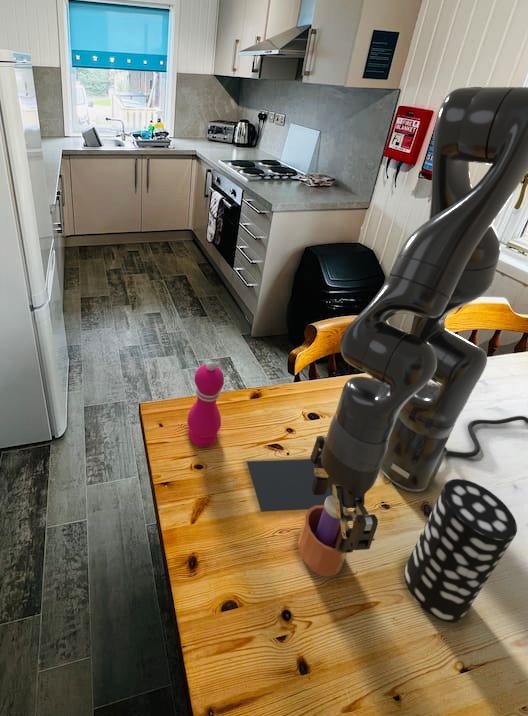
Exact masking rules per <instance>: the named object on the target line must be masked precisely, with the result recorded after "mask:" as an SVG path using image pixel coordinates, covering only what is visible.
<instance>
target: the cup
mask: <svg viewBox="0 0 528 716" xmlns="http://www.w3.org/2000/svg"><path fill="white" fill-rule="evenodd" d="M323 509H324V505H316V506H313V507H312V508H310V509H307V511H306V513H305V515H304V520H303V522H302V526H301V529H300V533H299V536H298V540H297V541H298V543H297V546H298V547H297V549H298V551H299V555H300V557H301V559H302V561H303V562H304V564H305V565H306V566H307V567H308V568H309V569H310V570H311V571H312V572H314V573H315V574H317V575H320V576H322V577H334V576H336V575H337V574H338V573H340V572H341V570H342V568H343V564H344V562H345V560H346V556H347V554H348V553H342V552H338V550H337V548H336V546H335V545H336V542H337V539H338V536H339V534H340V531H341V523H340V526H339V529H338V532H337V535H336V538H335V540H334V543H333V546H332V548H331V547H329V546H326V545H324V544H323V543H321V542H320V541H319V540H317V538H316V537H315V534H316V531H317V528H318V524H319V521H320V518H321V515H322V512H323ZM348 528H350V525H349V524H348Z"/></svg>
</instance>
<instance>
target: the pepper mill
mask: <svg viewBox="0 0 528 716" xmlns="http://www.w3.org/2000/svg"><path fill="white" fill-rule="evenodd" d="M194 373H195V374H194V384H195V394H196V396H197V398H196V401H195V403H193V405H192V406H191V407H190V409H189V411H188V413H187V419H186V421H187V426H188V432H187V434H188V435H187V436H188V438H189V440H190V442H191V443H193V444H194V445H195V446H196V447H199V448H200V447H201V448H208V447H211V446H213V445H214V444H215V443H216V441H217V439H218V432H219V431H220V428H221V426H222V416H221V413H220V410H219V408H218V405H217V400H218V399H219V398H220V394H221V389H223V385H224V384H225V377H224V374H223V373H224V372H223V371H222V370H221V368H219V367H218V366H216V364H215V363H214V361H208V362H206V363H205V364H202V365H200V366H199V367H198V368H197V369H196V371H195V372H194Z"/></svg>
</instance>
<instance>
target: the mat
mask: <svg viewBox="0 0 528 716" xmlns="http://www.w3.org/2000/svg"><path fill="white" fill-rule="evenodd" d="M246 465H247V468H248V471H249V474H250V478H251V481H252V485H253V489H254V492H255V496H256V500H257V502H258V506H259V510H260V512H277V511H297V510H300V511H301V510H309V509H310V508H312V507H313V506H316V505H324V503H325V500H326V498H327V497H328V496H331V495H333V493H332V491H331V489H330V488H329V486H328V488H327V491H326V494H324V495H314V494H313V492H312V487H313V481H314V478H315V474H314V468H315V464H312V463H311V460H310V458H308V459H307V458H306V459H305V458H303V459H277V460H249V461H246ZM333 496H334V495H333Z"/></svg>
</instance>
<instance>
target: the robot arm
mask: <svg viewBox="0 0 528 716" xmlns="http://www.w3.org/2000/svg"><path fill="white" fill-rule="evenodd" d="M435 120H436V121H435V123H434V124H435V125H434V129H433V130H434V131H433V137H432V138H433V139H432V157H431V159H432V163H431V164H432V165H431V168H432V169H431V195H430V207H429V215H428V220H427V221H426V222H424V223H423V224H421V225H420V226H418V228H416V229H415V230H414V231H413V232H412V233H411V234H410V236H408V238H407V239H406V240H405V242H404V243H403V245H402V247H401V248H400V251H399V252H398V254H397V257H396V259H395V261H394V263H393V265H392V267H391V269H390V272H389V273H388V276H387V277H386V280H385V281H384V283H383V284H382V287H381V288H380V289H379V291H378V292H377V293H376V295H375V296H374V297H373V298H372V300H371V301H370V302H369V303H368V305H366V306H365V308H364V309H363V310H362V311H361V312H360V313H359V314H358V315H357V316H356V317H355V318H354V319H353V320H352V321H351V322H350V323H349V324H348V325H347V327H346V329H345V330H344V331H343V333H342V335H341V339H340V344H339V347H340V353H341V356H342V358H343V360H344V361H345V362H346V363H347V364H348V365H350V366H352V367H354V368H355V369H358V370H359V371H361V372H363V373H365V374H367V375H368V376H370V377H367V376H353V377H351V378H348V380H347V381H346V382H345V383H344V386H343V388H342V391H341V393H340V397H339V400H338V404H337V406H336V410H335V413H334V414H333V416H332V418H331V421H330V424H329V427H328V431H327V433H326V436H317V437H316V440H315V443H314V445H313V448H312V451H311V455H310V458H309V459H310V460H311V463H312V464H315V468H314V474H315V478H314V481H313V487H312V492H313V494H314V495H324V494H326V491H327V488H328V486H329V488H330V489H331V491H332V493H333V495H334V498H335V505H336V515H337V517H338V518H339V519H340V523H341V531H340V534H339V536H338V539H337V542H336V545H335V546H336V548H337V550H338V552H342V553H347V554H350V553H351V554H352V553H353V552H354V551H365V550H366V551H367V550H370V549H371V546H372V543H373V541H374V537H375V534H376V530H377V528H378V525H379V520H378V517H377V516H376V515H375V514H374V513H373V514H369V512H368V510H367V509H366V507H365V504H366V503H365V502H366V500H365V499H366V497H365V496H366V493H367V492H368V491H370V490H371V489H373V487H374V485H375V483H376V481H377V478H378V476H379V473H380V472H381V474H383V475H384V477H385V478H386V479H387V480H388V481H390V483H391V484H393V486H395V487H397V488H398V489H401V490H403V491H407V492H409V493H421V492H423V491H425V490H426V489H427V488H428V486H429V485H431V484H433V483H434V481H435V478H436V476H437V474H438V471H439V470H440V467H441V465H442V463H443V461H444V459H445V457H446V456H453V457H459V458H473V457H475V456H477V455H478V454H479V453H480V452H481V451H480V450H481V446H480V443H479V441H478V439H477V437H476V435H475V433H474V427H475V426H476V425H482V424H483V425H503V424H508V423H512V422H516V421H524V422H525V423H528V417H526V416H525V415H515V416H509V417H506V418H502V419H473V420H471V421H470V422H469V423H468V425H467V431H468V434H469V437H470V439H471V440H472V442H473V446H474V449H473V450H472V451H466V452H463V451H455V450H448V449H447V447H446V445H447V444H448V440H449V439H450V436H451V434H452V432H453V430H454V428H455V425H456V423H457V421H458V419H459V417H460V415H461V413H462V411H463V410H464V409H465V406H466V405H467V403H468V400H469V399H470V397H471V394H472V393H473V391H474V390H475V388H476V386H477V384H478V383H479V381H480V379H481V377H482V375H483V374H484V371H485V369H486V367H487V363H488V355H487V352H486V351H485V350H484V349H483V348H481V347H479V346H478V345H477V344H474V343H473V342H471V341H469V340H467V339H466V338H464V337H462V336H461V335H459V334H457V333H455V332H452V331H451V330H449V329H447V327H446V325H445V321H446V317H447V316H448V315H450V314H451V313H453V312H454V311H456V310H458V309H460V308H462V307H464V306H466V305H468V304H471V303H472V302H475V300H478V299H480V298H481V297H482V296H483V295H484V294H486V293H487V292H488V291H489V289H490V288H491V287H492V284H493V282H494V278H495V275H496V271H497V268H498V263H499V258H500V254H501V243H500V239H499V237H498V234H497V231H496V229H495V227H494V225H493V223H494V222H495V220H496V219H497V217H498V216H499V215H500V213H501V212H502V210H503V209H504V207H505V206H506V204H507V202H509V200H510V198H512V196H513V194H514V192H515V191H516V189H517V188H518V186H519V185H520V184H521V182H522V181H523V179H524V177H525V176H526V174H527V173H528V86H485V87H484V86H483V87H482V86H470V87H459V88H455V89H454V90H452V91H451V92H450V93H448V94H447V95H446V96H445V98H444V99H443V102H442V104H441V105H440V108H439V110H438V113H437V115H436V119H435ZM470 163H475V164H482V165H490V166H489V168H488V170H487V171H486V173H485V174H484V175H483V176H482V178H481V179H480V180H479V181H478V183H477V184H475V186H473V187H472V182H471V175H470V173H471V172H470ZM399 314H406V315H410V316H411V315H412V316H413V320H412V323H411V327H410V331H409V332H408V331H405V330H403V329H401V328H399V327H396V326H394V325H392V324H390V323H388V322H387V321H388V320H389V319H390V318H391V317H393V316H395V315H399ZM431 381H432V382H431ZM343 507H346V508H348V509H349V508H350V509H353V511H346V512H343ZM349 522H352V524H353V525H352V527H349V528H348V525H349V524H348V523H349Z"/></svg>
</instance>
